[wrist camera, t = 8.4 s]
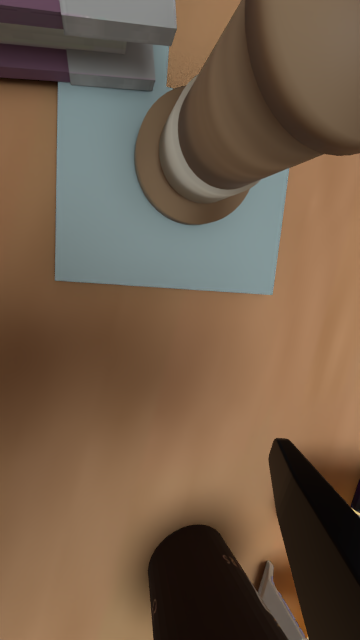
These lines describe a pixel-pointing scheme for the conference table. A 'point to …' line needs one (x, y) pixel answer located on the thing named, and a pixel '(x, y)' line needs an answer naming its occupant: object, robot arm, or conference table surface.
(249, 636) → the coffee mug
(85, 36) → the book
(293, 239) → the conference table surface
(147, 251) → the flat light blue board
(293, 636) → the diorama
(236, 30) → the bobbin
